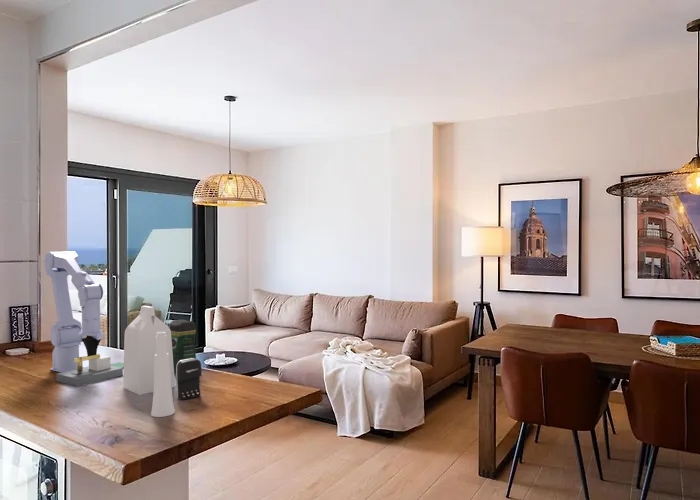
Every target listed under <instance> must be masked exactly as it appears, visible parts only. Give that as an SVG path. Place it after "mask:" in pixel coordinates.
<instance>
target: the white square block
mask: <svg viewBox="0 0 700 500" xmlns="http://www.w3.org/2000/svg"><path fill="white" fill-rule="evenodd" d="M111 364H112V363H111V356H107V355H100V358H96V359H91V360H88V367H89V369H91V370H95V371H98V370H103V369H107V368H111Z"/></svg>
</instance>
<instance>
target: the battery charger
mask: <svg viewBox="0 0 700 500" xmlns="http://www.w3.org/2000/svg"><path fill="white" fill-rule="evenodd" d="M201 377H202V363H201V361H200V360H199V359H197V357H196V358H191V359H185V360H181V361H179V362H178V363H177V364H176V373H175V385H176V398H177V400H181V401H184V400H185V401H186V400H189V399H194V398H199V397H200V396H201V388H200V387H201V386H200V384H201V383H200V382H201V381H200V379H201Z"/></svg>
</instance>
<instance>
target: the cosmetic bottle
mask: <svg viewBox="0 0 700 500" xmlns="http://www.w3.org/2000/svg"><path fill="white" fill-rule="evenodd" d="M165 334H166V332H158V333H157V336H156V354H155V358H154V392H152V394H153V396H152V397H153V398H152V404H151V406H152V407H151V412H150V415H151V417H154V418H166V417H169V416H172V415H174V414H175V412H176V410H175V405H174V400H173V391H172V390H173V389H172V387H171V376H170V362H169V354H168V353H167V336H166V335H165Z"/></svg>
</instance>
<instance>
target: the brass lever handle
mask: <svg viewBox="0 0 700 500" xmlns="http://www.w3.org/2000/svg"><path fill="white" fill-rule="evenodd" d="M100 356H101V354H100V353H97V354H96V355H91V356H88V355H85V356H79V357H78V358H74V362H77V372H83V367H84V366H83V362H84V361H89V360H91V359H96V358H100Z"/></svg>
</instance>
